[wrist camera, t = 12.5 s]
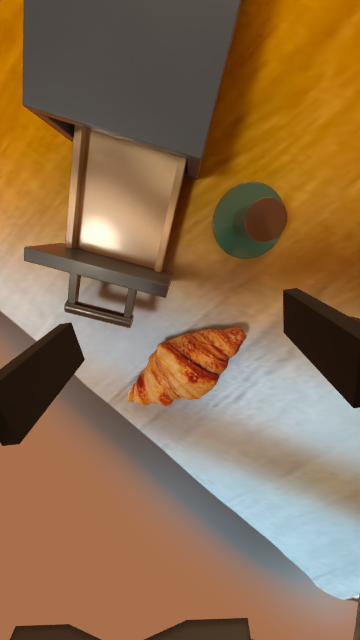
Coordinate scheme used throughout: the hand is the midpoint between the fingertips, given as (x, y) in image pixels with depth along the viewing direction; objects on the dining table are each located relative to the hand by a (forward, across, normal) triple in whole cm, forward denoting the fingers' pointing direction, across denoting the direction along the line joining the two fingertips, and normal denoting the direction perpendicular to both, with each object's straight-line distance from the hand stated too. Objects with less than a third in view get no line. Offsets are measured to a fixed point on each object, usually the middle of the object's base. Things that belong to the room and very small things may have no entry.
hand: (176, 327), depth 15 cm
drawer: (+18, +6, -8) cm, 20 cm away
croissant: (+19, +2, +14) cm, 24 cm away
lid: (+19, -9, -5) cm, 22 cm away
